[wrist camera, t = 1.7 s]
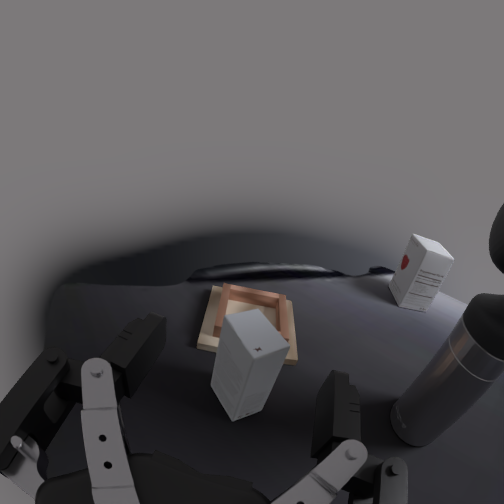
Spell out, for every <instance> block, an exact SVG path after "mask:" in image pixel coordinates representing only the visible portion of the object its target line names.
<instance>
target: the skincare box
mask: <svg viewBox="0 0 504 504" xmlns="http://www.w3.org/2000/svg"><path fill="white" fill-rule="evenodd" d="M289 349H290V344H289V343H288V342H287V341H286V340H285V339H284V338H283V337H282V335H281V334H280V333H279V332H278V331H277V330H276V329H275V327H274V326H273V325H272V324H271V323H270V322H269V321H268V319H267V318H266V317H265V316H264V315H263V314H262V312H261V311H260V310H259V309H253V310H249V311H244V312H239V313H234V314H228V315H224V318H223V323H222V328H221V333H220V338H219V344H218V348H217V353H216V359H215V364H214V369H213V374H212V379H211V387H212V389H213V391H214V392H215V394H216V396H217V397H218V399H219V401H220V402H221V404H222V406H223V407H224V409H225V411H226V412H227V414H228V416H229V417H230V419H231V421H235V420H238V419H241V418H243V417H246V416H249V415H251V414H254V413H257V412H259V411H261V410H262V409H263V407H264V404H265V402H266V400H267V398H268V396H269V394H270V392H271V390H272V387H273V385H274V383H275V381H276V379H277V376H278V374H279V372H280V370H281V367H282V365H283V363H284V360H285V358H286V356H287V354H288V351H289Z"/></svg>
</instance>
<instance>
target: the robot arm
mask: <svg viewBox="0 0 504 504" xmlns="http://www.w3.org/2000/svg"><path fill="white" fill-rule="evenodd" d="M489 251H490V256H491V259H492V261H493V263H494V264H495V265H496V267H497V268H498V269H499V270H500V271H501V272H502V273H504V204H503V205H502V207H501V208H500V210H499V212H498V213H497V216H496V218H495V220H494V222H493V225H492V228H491V232H490V238H489ZM165 342H166V317H163V316H161V315H158V314H156V313H153V312H150V313H149V314H148V315H147V317H146V318H145V319H144V320H142V319H140V318H137V319H135V320H133V321H132V322H130V323H129V324H128V325H127V326H126V327H125V328H124V329H123V331H122V332H121V333H120V334H119V335H118V337H116V339H115V340H114V341H113V342H112V343H111V344H110V346H109V347H108V348H107V349H106V350H105V351H104V353H103V354H102V355H101V356H100V357H99V358H92V359H89V360H87V361H86V362H82V361H77V360H73V359H69V358H67V356H66V354H65V352H64V351H63V350H62V349H60V348H56V347H51V348H48V349H46V350H44V351H43V352H42V353H41V354H40V355H39V357H38V358H37V359H36V360H35V361H34V362H33V363H32V365H31V366H30V367H29V368H28V370H27V371H26V372H25V373H24V374H23V376H22V377H21V378H20V379H19V380H18V381H17V383H16V384H15V385H14V387H13V388H12V389H11V390H10V392H9V393H8V394H7V395H6V397H5V398H4V399H3V401H2V402H1V403H0V473H1V474H2V475H4V476H5V477H7V478H9V479H10V480H11V481H12V482H13V483H15V484H16V485H17V486H18V487H19V488H21V489H22V490H23V491H24V492H26V493H27V494H28V495H30V496H31V497H32V498H34V499H35V504H329V503H330V502H331V501H332V500H333V499H334V498H335V497H336V496H337V492H338V491H339V490H340V489H342V490H345V491H347V492H349V499H348V504H407V497H408V468H407V465H406V463H405V462H404V461H403V460H402V459H400V458H398V457H391V458H388V459H387V460H382V459H380V458H377V457H375V456H372V455H370V454H369V453H368V452H367V449H366V447H365V446H364V445H363V444H362V443H361V421H360V406H359V405H360V396H359V393H358V391H357V389H356V387H355V386H354V385H349V374H348V373H345V372H340V371H336V370H332V371H331V373H330V374H329V376H328V377H327V379H326V380H325V382H324V384H323V385H322V387H321V388H320V390H319V392H318V396H317V401H316V412H315V422H314V431H313V440H312V449H311V457H310V458H317V459H318V460H317V465H316V466H315V467H314V468H312V469H311V470H310V471H309V472H308V473H307V474H305V475H304V476H303V477H302V478H301V479H299V480H298V481H297V482H296V483H294V484H293V485H292V486H291V487H289V488H288V489H287V490H285V491H284V492H283V493H281V494H280V495H278V496H277V497H276V498H274V499H273V500H272V501H269V499H267V498H266V497H265V496H264V495H263V494H262V493H261V492H259V491H258V490H256V489H254V488H252V484H253V482H249V481H245V480H241V479H237V478H234V477H230V476H220V475H209V474H202V473H199V472H197V471H196V470H194V469H193V468H191V467H189V466H188V465H186V464H185V463H183V462H182V461H180V460H179V459H176V458H174V457H171V456H169V455H166V454H164V453H162V452H159V451H157V450H155V451H154V453H153V454H148V453H134V454H132V453H131V449H130V446H129V442H128V439H127V435H126V430H125V426H124V421H123V416H122V411H121V405H120V400H121V399H122V397H123V396H126V397H128V398H130V399H131V397H132V396H133V394H134V393H135V391H136V390H137V388H138V387H139V385H140V384H141V382H142V381H143V379H144V378H145V376H146V375H147V373H148V372H149V370H150V368H151V367H152V365H153V364H154V362H155V361H156V359H157V358H158V356H159V355H160V353H161V352H162V350H163V348H164V346H165ZM503 372H504V295H495V294H485V293H483V294H478V295H476V296H475V297H474V298H473V299H472V300H471V302H470V303H469V305H468V306H467V308H466V310H465V311H464V313H463V315H462V316H461V318H460V319H459V321H458V322H457V324H456V326H455V327H454V329H453V330H452V332H451V333H450V335H449V336H448V338H447V339H446V340H445V342H444V343H443V345H442V346H441V348H440V349H439V350H438V352H437V353H436V354H435V356H434V357H433V358H432V360H431V361H430V362H429V364H428V365H427V366H426V367H425V369H424V370H423V371H422V372H421V374H420V375H419V376H418V377H417V378H416V380H415V381H414V382H413V383H412V384H411V386H410V387H409V388H408V389H407V390H406V391H405V393H404V394H403V395H402V396H401V397H400V398H399V399H398V400H397V401H396V402H395V404H394V405H393V407H392V409H391V413H390V419H391V424H392V427H393V429H394V431H395V432H396V434H397V435H398V436H399V437H400V438H401V439H402V440H403V441H404V442H406V443H408V444H410V445H413V446H425V445H428V444H430V443H431V442H432V441H434V440H435V439H436V438H437V437H438V436H440V435H441V434H442V433H443V432H444V431H446V430H447V429H448V428H449V427H450V426H451V425H453V424H454V423H455V422H456V421H457V420H458V419H459V418H460V417H461V416H462V415H463V414H465V413H466V412H467V411H468V410H469V409H470V408H471V407H472V406H473V405H474V404H475V403H476V402H477V401H478V400H479V399H480V398H481V397H482V395H483V394H484V393H485V392H486V391H487V390H488V389H489V388H490V387H491V386H492V385H493V383H494V382H495V381H496V380H497V379H498V378H499V376H500V375H501V374H502V373H503ZM76 402H77V403H81V404H83V409H82V410H81V420H82V430H83V438H84V445H85V451H86V457H87V463H88V468H86V469H83V470H79V471H76V472H72V473H69V474H65V475H61V476H57V477H53V478H50V479H47V475H46V470H47V467H48V463H49V460H48V456H47V454H46V452H45V451H46V449H47V447H48V446H49V444H50V442H51V441H52V439H53V438H54V436H55V434H56V433H57V431H58V430H59V428H60V426H61V425H62V423H63V422H64V420H65V419H66V417H67V416H68V414H69V413H70V411H71V409H72V408H73V406H74V405H75V403H76Z"/></svg>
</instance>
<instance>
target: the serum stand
mask: <svg viewBox="0 0 504 504" xmlns="http://www.w3.org/2000/svg"><path fill="white" fill-rule="evenodd" d="M253 309H259V310H260V311H261V312H262V314H263V315H264V316H265V317H266V318H267V319H268V321H269V322H270V323H271V324H272V325H273V326H274V327H275V329H276V330H277V331H278V332H279V333H280V334H281V335H282V337H283V338H284V339H285V340H286V341H287V342H288V343H289V344H290V349H289V351H288V354H287V356H286V358H285V360H284V363H283V364H288V365H296V363H297V361H298V357H297V347H296V337H295V328H294V318H293V309H292V301H289V300H286V295H281V294H276V293H271V292H266V291H261V290H255V289H250V288H245V287H240V286H235V285H230V284H226V283H224V285H223V288H222V287H217V286H213V288H212V291H211V295H210V299H209V302H208V306H207V309H206V313H205V317H204V320H203V324H202V328H201V331H200V335H199V339H198V343H197V349H201V350H206V351H211V352H215V353H217V348H218V344H219V338H220V333H221V328H222V323H223V318H224V315H228V314H234V313H239V312H244V311H249V310H253Z"/></svg>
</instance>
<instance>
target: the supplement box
mask: <svg viewBox="0 0 504 504" xmlns="http://www.w3.org/2000/svg"><path fill="white" fill-rule="evenodd" d="M453 262H454V258H453V257H452V256H451V255H450V254H449V253H448V252H447V250H446V249H444V248H443V247H442V246H441V244H440V243H439V242H436V241H433V240H430V239H427V238H424V237H422V236H419V235H416V234H412V235H411V238H410V240H409V243H408V245H407V247H406V250H405V252H404V254H403V256H402V259H401V261H400V263H399V265H398V267H397V269H396V272H395V274H394V276H393V278H392V280H391V282H390V284H389V288H390V290H391V292H392V294H393V296H394V298H395V300H396V302H397V304H398V306H399V307H402V308H407V309H412V310H417V311H423V312H426V311H427V310H428V308H429V306H430V304H431V303H432V301H433V299H434V298H435V296H436V294H437V292H438V290H439V289H440V287H441V284H442V283H443V281H444V279H445V277H446V275H447V274H448V272H449V270H450V268H451V266H452V264H453Z"/></svg>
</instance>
